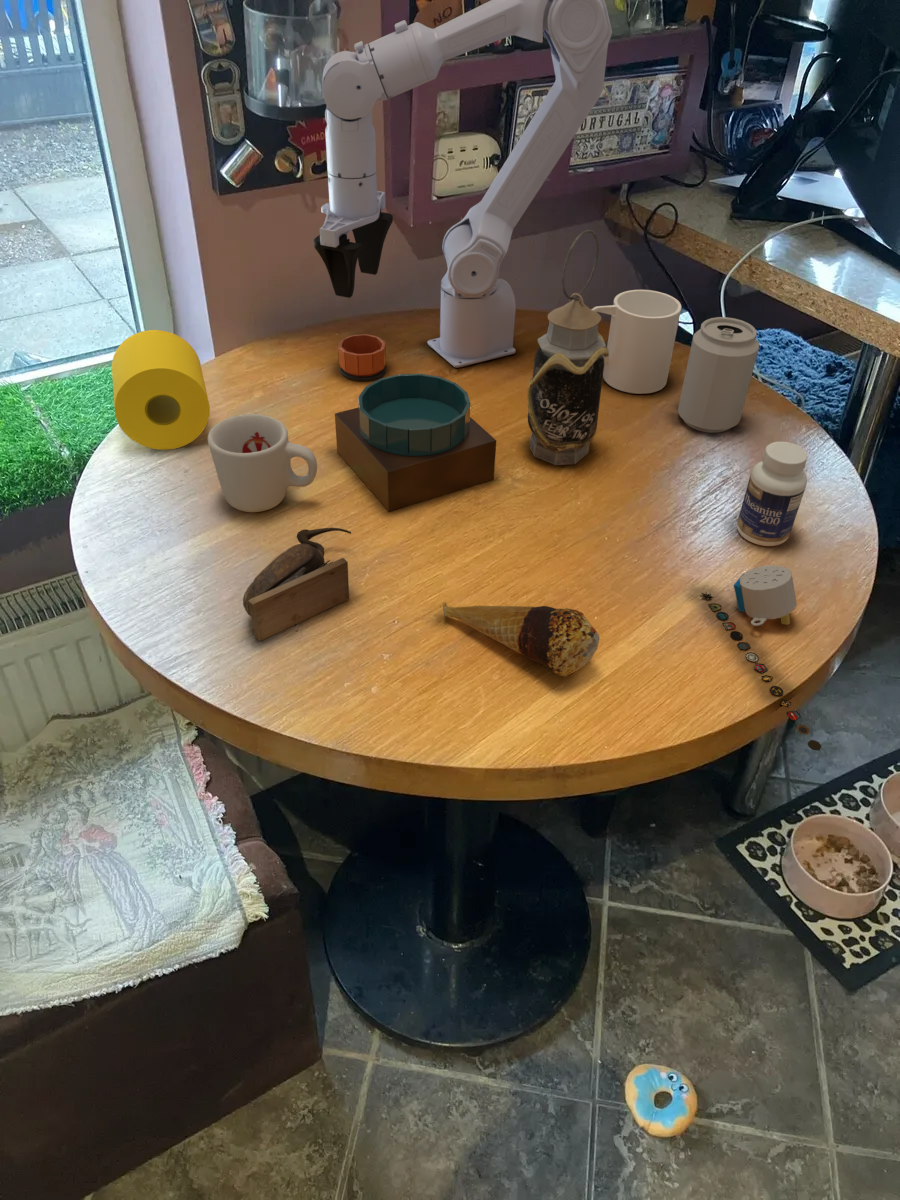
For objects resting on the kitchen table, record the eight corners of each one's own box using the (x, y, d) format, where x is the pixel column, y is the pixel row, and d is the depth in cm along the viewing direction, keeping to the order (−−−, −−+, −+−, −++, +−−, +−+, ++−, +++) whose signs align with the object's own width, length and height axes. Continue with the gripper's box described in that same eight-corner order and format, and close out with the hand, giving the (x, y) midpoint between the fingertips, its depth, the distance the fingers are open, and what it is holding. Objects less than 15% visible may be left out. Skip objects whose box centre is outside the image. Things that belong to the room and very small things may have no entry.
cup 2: (566, 367, 123) (575, 293, 116) (652, 360, 125) (666, 287, 118) (586, 398, 117) (597, 322, 110) (676, 390, 119) (692, 315, 113)
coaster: (374, 355, 125) (373, 352, 124) (394, 375, 121) (394, 372, 121) (332, 365, 122) (332, 362, 122) (352, 385, 118) (352, 382, 118)
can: (744, 413, 116) (768, 321, 108) (731, 442, 111) (756, 347, 103) (684, 399, 118) (704, 308, 110) (669, 427, 113) (688, 333, 105)
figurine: (386, 581, 90) (336, 537, 95) (385, 544, 87) (334, 500, 92) (258, 642, 83) (211, 590, 88) (252, 604, 80) (204, 553, 85)
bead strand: (710, 592, 90) (697, 594, 90) (710, 591, 90) (698, 593, 90) (825, 750, 76) (811, 753, 75) (825, 749, 76) (811, 752, 75)
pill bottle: (725, 531, 97) (747, 451, 91) (752, 510, 100) (775, 431, 94) (772, 555, 95) (798, 474, 88) (798, 532, 98) (825, 452, 91)
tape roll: (94, 415, 101) (93, 374, 108) (170, 465, 108) (164, 423, 114) (154, 350, 99) (149, 312, 105) (228, 405, 105) (218, 366, 112)
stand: (436, 424, 112) (437, 386, 109) (494, 479, 104) (496, 440, 100) (336, 451, 107) (334, 413, 104) (388, 511, 99) (387, 471, 95)
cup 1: (327, 482, 102) (322, 418, 97) (311, 526, 96) (305, 460, 91) (229, 474, 103) (220, 410, 98) (208, 517, 97) (196, 451, 92)
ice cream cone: (418, 626, 83) (574, 673, 76) (441, 566, 84) (597, 607, 77) (445, 646, 88) (593, 691, 81) (467, 589, 89) (614, 629, 82)
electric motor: (730, 638, 87) (782, 644, 84) (721, 593, 85) (774, 598, 82) (761, 600, 92) (812, 605, 88) (753, 557, 90) (805, 560, 86)
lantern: (568, 478, 104) (597, 254, 88) (507, 453, 108) (524, 233, 91) (607, 445, 109) (641, 228, 93) (548, 422, 113) (571, 209, 96)
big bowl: (435, 390, 108) (435, 364, 106) (488, 439, 100) (490, 412, 98) (341, 414, 103) (340, 388, 101) (390, 467, 96) (389, 440, 94)
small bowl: (372, 353, 124) (372, 330, 122) (393, 372, 120) (393, 349, 118) (332, 362, 122) (331, 339, 120) (352, 382, 118) (351, 359, 116)
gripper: (347, 149, 116) (352, 258, 125) (292, 185, 106) (302, 300, 115) (400, 157, 114) (401, 266, 123) (349, 193, 104) (354, 310, 113)
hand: (356, 283), depth 119 cm, fingers open, 7 cm apart
